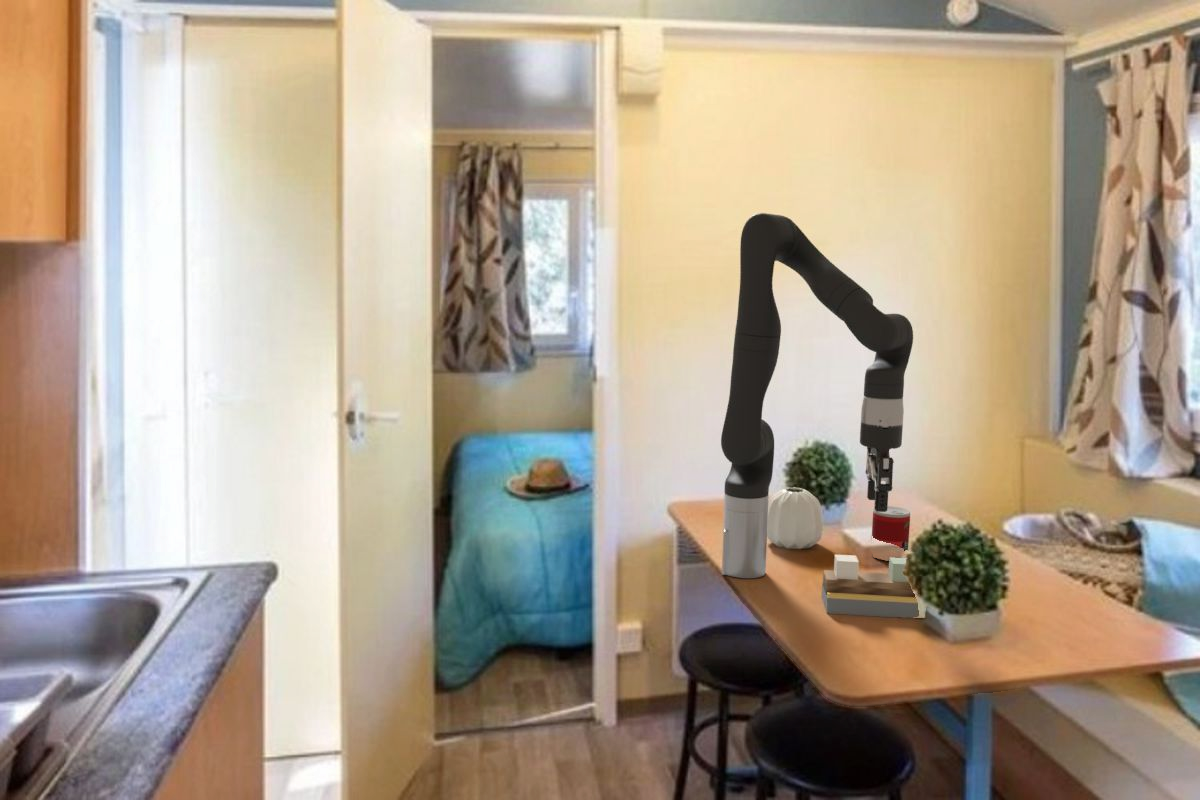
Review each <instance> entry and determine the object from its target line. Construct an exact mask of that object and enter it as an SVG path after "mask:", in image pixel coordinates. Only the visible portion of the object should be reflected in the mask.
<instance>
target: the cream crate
mask: <svg viewBox="0 0 1200 800" xmlns="http://www.w3.org/2000/svg"><path fill="white" fill-rule="evenodd" d="M833 562H834V563H833V565H834V566H833V571H834V573H835V576H836V579H851V580H858V572H860V571H859V570H860V569H859V567H860V566H859V564H860V561H859V559H858V557H857V555H849V554H834V561H833Z"/></svg>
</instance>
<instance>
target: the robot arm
mask: <svg viewBox="0 0 1200 800" xmlns="http://www.w3.org/2000/svg"><path fill="white" fill-rule="evenodd" d="M739 247H740V248H739V249H740V252H739V253H740V254H739V255H740V257H739V259H740V260H739V261H740V263H739V264H740V267H739V268H740V275H739V292H738V293H739V294H738V304H737V305H738V306H737V316H736V324H735V332H734V340H733V341H734V342H733V350H732V352H733V353H732V366H731V373H730V375H731V376H730V384H729V385H730V386H729V397H728V404H727V407H726V408H727V409H726V412H725V413H726V414H725V418H724V421H723V426H722V431H721V437H720V446H721V450H722V453H723V455H724V457H725V458H726V459H727V460H728V462H730V463H731V465H730V466H731V467H730V469H729V473H728V475H727V476H726V479H725V481H724V496H723V498H724V501H723V502H724V503H723V524H722V525H723V526H722V527H723V528H722V552H721V553H722V558H721V559H722V561H721V575H722V576H729V577H733V578H738V579H756V578H761V577H764V576H765V575H766V570H767V568H766V567H767V548H768V547H767V544H768V542H767V539H768V537H767V521H768V501H769V495H770V494H769V493H770V491H769V489H770V484H771V481H772V478H773V474H774V473H773V472H774V460H775V459H774V455H775V437H774V432H773V429H772V428H771V426H770V424H769V423H767V421H765V420H764V419H762V416H763V408H764V400H765V396H766V393H767V390H768V388H769V385H770V382H771V380H772V377H773V375H774V372H775V369H776V367H777V362H778V359H779V353H780V352H779V351H780V345H781V336H782V335H781V334H782V323H781V319H780V318H781V317H780V314H779V313H780V312H779V311H778V308H777V307H778V306H777V304H776V300H775V296H774V290H773V278H774V277H773V276H774V270H775V262H778V263H781V264H783V265H785V266H786V267H788V268H790V269H791V270H793V271H794V272H795V273H797V274H798V275H799V276H800V277H801V278H802V279H803V280H804V281H805V282H806V284H807V286H808V287H809V288H810V291H811V292H812V293H813V295H814V296H815V297H816V299H817V300H818V301H819V302H820V303H821V304H822V305H823V306H824V307H826V309H828V310H829V311H830V312H831V313H833V314H834V315H835V316H836V317H837V318H838V319H840V321H843V322H844V324H845V325H846V327H847V328H848V330H849V331H850V332H851V333H852V335H853V336H854V338H856V340H857V341H858V342H859V343H860V344H861V345H862V346H864V347H865V348H866V349H868V351H869V350H870V351H872V352H874V353H875V355H874V356H875V357H874V360H873V362H872V364H871V365H870V366H868V367H867V368H866V370H865V375H864V383H863V384H864V385H863V387H864V388H863V399H862V405H861V413H860V430H859V431H860V432H859V444H860V445H861V446H863V447H865V448H866V449H867V451H866V468H865V472H864V473H865V474H866V479H867V492H866V493H867V496H866V497H867V499H868V500H869V501H874V507H873V510H874V509H875V510H876V511H877V512H886V511H887V506H889V504H888V502H889V492H892V491H893V473H894V462H895V461H894V458H893V457H890V450H891V449H898V448H899V449H900V447H902V440H903V426H904V412H905V411H904V408H905V407H904V389H905V374H906V370H907V367H908V364H909V360H910V356H911V352H912V348H913V344H914V330H913V326H912V324H911V321H910V320H909V319H908V317H906V316H905V315H903V314H900V313H884V312H882V310H880V309H879V308H877V307H876V306H875V305H874V300H873V297H872V295H871V294H870V293H869V292H868V291H867V290H866V289H865V288H863V287H862V285H859V284H858V283H857V282H856V281H855V280H854V279H852V278H851V277H849V275H847V274H846V273H844V272H843V271H842V270H840V268H838V267H837V266H836V265H835V264H834V263H832V261H830V260H829V259H828V257H826V256H825V255H824V254H823V253H822V252H821V251H820V250H819V249H818V248H817V247H816V246H815V245H814V243H812V242H811V240H810V239H809V238H808V237H807V236H806V235H805V233H804V232H803V231H802V229H801V228H800V227H799V226H798V225H797V224H796V223H795V222H794V221H793V220H792V219H791V218H789V217H787V216H785V215H780V214H773V213H766V212H759V213H755V214H753V215H751V216H750V217H749V218H748V219H747V220H746V222H745V223H744V225H743V227H742V231H741V235H740V246H739ZM882 482H885V483H882Z"/></svg>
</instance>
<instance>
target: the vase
mask: <svg viewBox="0 0 1200 800" xmlns="http://www.w3.org/2000/svg"><path fill="white" fill-rule="evenodd" d="M823 530H824V517H823V511H822V506H821V502H820V501H819V499H818V498H817V497H816V496H814V495H813V494H812V493H811V492H810V491H808V490H806V489H805V488H801V487H793V486H792V487H786V488H782V489H780V490H778V491H777V492H775V493H774V494H773V495H772V496H771V497H769V498H768V521H767V539H768V540H769V542H770V543H771V544H774V545H775V546H777V547H779V548H785V549H789V550H791V549H795V550H801V549H811V548H812V547H813V546H815V545H817V543H819V542H820V540H821V539H822V535H823Z"/></svg>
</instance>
